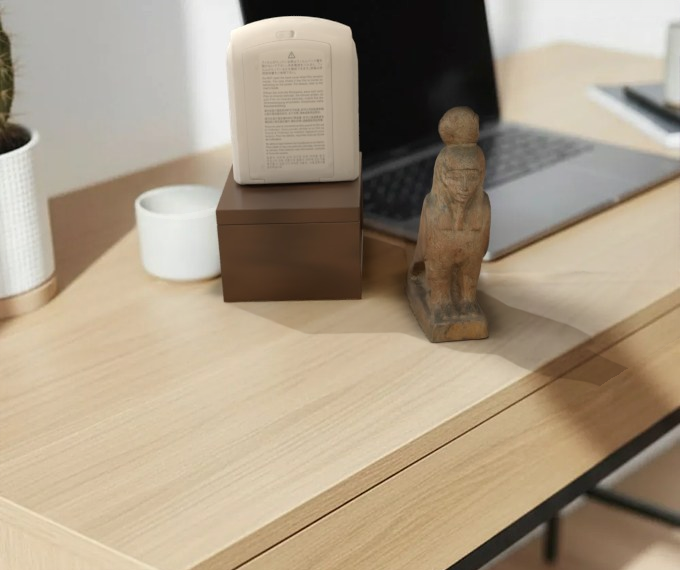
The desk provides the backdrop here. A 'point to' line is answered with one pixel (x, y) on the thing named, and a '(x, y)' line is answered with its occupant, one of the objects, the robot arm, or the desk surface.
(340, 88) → the photo printer
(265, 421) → the desk surface
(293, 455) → the desk surface
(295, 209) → the lidded wooden box
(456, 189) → the worn brown figurine
